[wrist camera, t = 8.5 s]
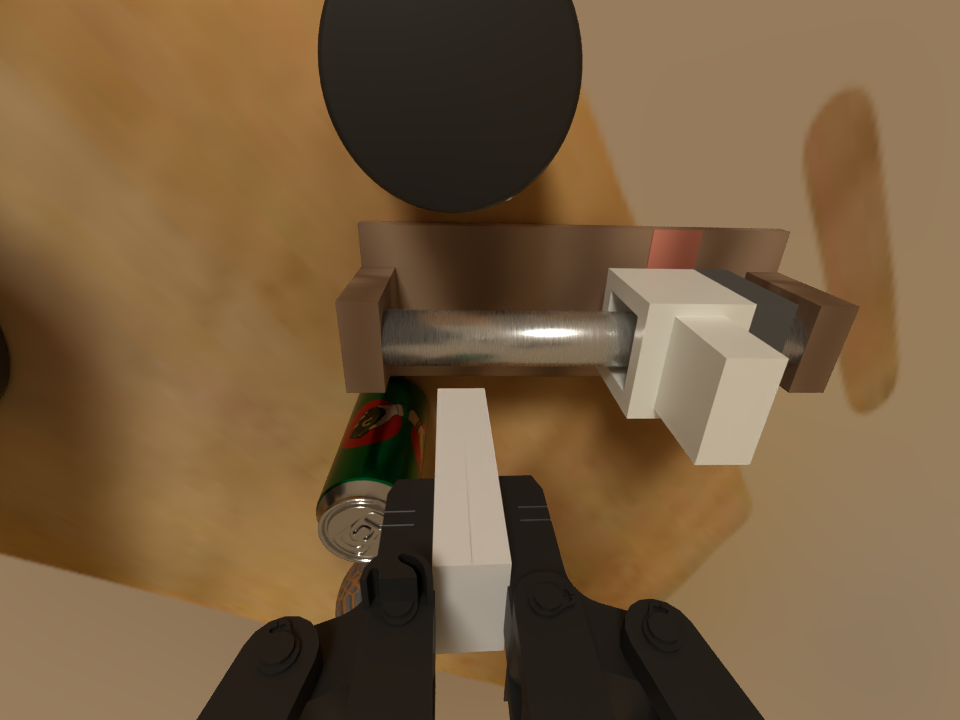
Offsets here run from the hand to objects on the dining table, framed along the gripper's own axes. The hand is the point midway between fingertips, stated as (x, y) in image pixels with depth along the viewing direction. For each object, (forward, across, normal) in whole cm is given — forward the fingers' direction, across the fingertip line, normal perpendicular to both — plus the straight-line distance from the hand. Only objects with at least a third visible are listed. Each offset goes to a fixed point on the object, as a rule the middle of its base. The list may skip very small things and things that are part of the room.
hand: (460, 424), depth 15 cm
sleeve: (+13, +11, -1) cm, 17 cm away
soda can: (+16, -4, -9) cm, 19 cm away
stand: (+16, +8, -1) cm, 17 cm away
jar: (+16, 0, +10) cm, 19 cm away
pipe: (+11, +7, -1) cm, 13 cm away
